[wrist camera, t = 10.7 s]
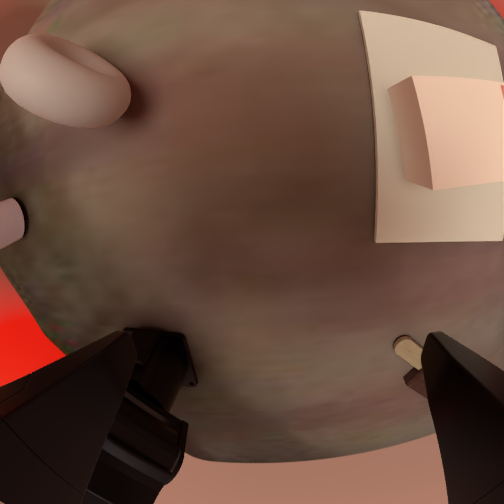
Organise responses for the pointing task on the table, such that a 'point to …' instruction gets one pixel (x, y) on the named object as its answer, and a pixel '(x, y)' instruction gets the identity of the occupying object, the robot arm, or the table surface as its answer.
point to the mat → (387, 140)
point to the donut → (63, 82)
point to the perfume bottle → (10, 222)
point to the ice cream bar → (412, 363)
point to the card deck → (450, 130)
